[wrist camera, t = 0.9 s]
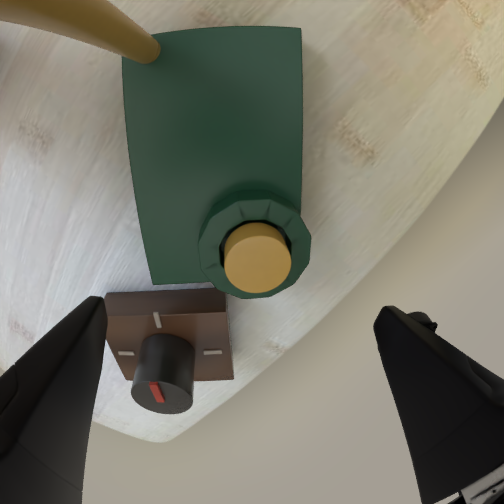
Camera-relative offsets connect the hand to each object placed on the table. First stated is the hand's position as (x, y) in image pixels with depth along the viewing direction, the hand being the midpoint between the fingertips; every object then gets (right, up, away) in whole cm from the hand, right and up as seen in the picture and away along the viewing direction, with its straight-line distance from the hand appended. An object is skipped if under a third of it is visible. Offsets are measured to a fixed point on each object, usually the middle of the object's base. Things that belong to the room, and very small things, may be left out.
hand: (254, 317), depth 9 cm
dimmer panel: (-7, -5, +16) cm, 18 cm away
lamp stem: (-6, +14, +6) cm, 16 cm away
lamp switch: (0, +2, +9) cm, 9 cm away
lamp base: (-2, +8, +9) cm, 12 cm away
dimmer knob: (-7, -6, +13) cm, 16 cm away
